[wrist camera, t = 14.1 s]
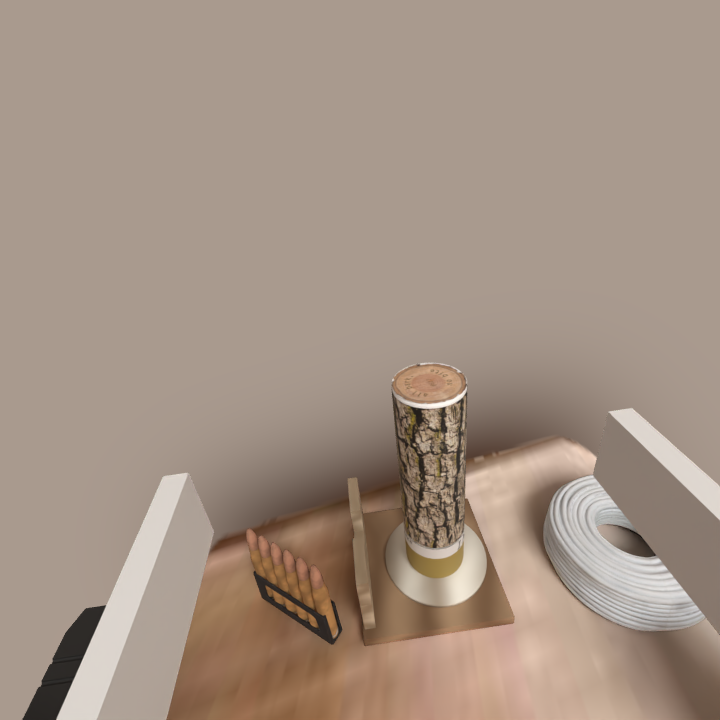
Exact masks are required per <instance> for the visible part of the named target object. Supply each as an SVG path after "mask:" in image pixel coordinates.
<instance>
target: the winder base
mask: <svg viewBox="0 0 720 720" xmlns="http://www.w3.org/2000/svg"><path fill="white" fill-rule="evenodd" d="M348 489H349V502H350V513H351V519H352V524H353V530H354V539H352V541H353V553H354V566H355V579H356V588H357V593H358V598H359V603H360V608H361V614H362V625H363V637H364V644H365V646H369V645H375V644H382V643H388V642H395V641H401V640H408V639H414V638H421V637H427V636H434V635H440V634H447V633H454V632H460V631H467V630H473V629H480V628H486V627H493V626H499V625H506V624H512V623H514V614H513V612H512V609H511V607H510V604H509V602H508V599H507V597H506V594H505V592H504V589H503V587H502V584H501V582H500V579H499V577H498V574H497V572H496V569H495V567H494V564H493V562H492V559H491V557H490V554H489V552H488V549H487V547H486V544H485V542H484V539H483V537H482V534H481V532H480V529H479V527H478V524H477V522H476V519H475V517H474V514H473V512H472V509H471V507H470V504H469V502H468V499H465V519H464V555H463V561H462V563H461V566H460V567H459V569H458V570H457V571H456V572H455V573H453V574H452V575H450V576H447V577H444V578H430V577H426V576H424V575H422V574H420V573H419V572H417V571H416V570H415V569H414V568H413V567H412V566H411V564H410V562H409V560H408V558H407V553H406V543H405V534H404V523H403V511H402V508H399V509H392V510H385V511H378V512H372V513H365V514H363V512H362V505H361V499H360V493H359V487H358V481H357V477H355V478H349V479H348Z"/></svg>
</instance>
